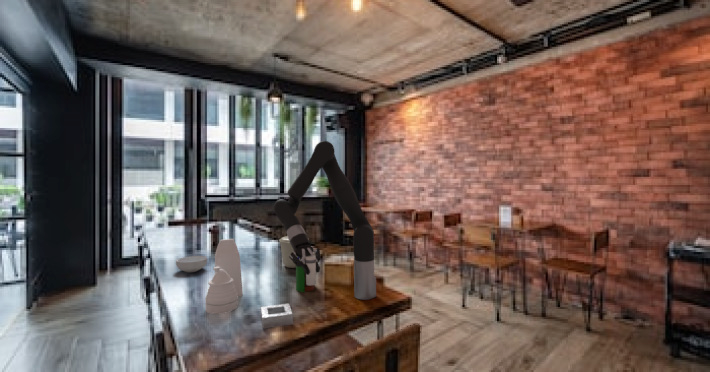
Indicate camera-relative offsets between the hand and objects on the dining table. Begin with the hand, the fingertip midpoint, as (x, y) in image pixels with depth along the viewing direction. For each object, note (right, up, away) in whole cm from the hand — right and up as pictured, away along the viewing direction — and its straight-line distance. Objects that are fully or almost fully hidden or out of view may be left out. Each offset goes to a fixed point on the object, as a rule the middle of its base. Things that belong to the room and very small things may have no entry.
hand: (313, 272), depth 138 cm
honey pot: (-41, -18, +10) cm, 46 cm away
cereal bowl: (-80, -16, +68) cm, 106 cm away
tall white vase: (-44, -17, +28) cm, 55 cm away
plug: (-1, -5, +2) cm, 5 cm away
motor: (-8, -17, +34) cm, 38 cm away
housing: (-14, -18, -3) cm, 23 cm away
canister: (-21, -15, +76) cm, 80 cm away
